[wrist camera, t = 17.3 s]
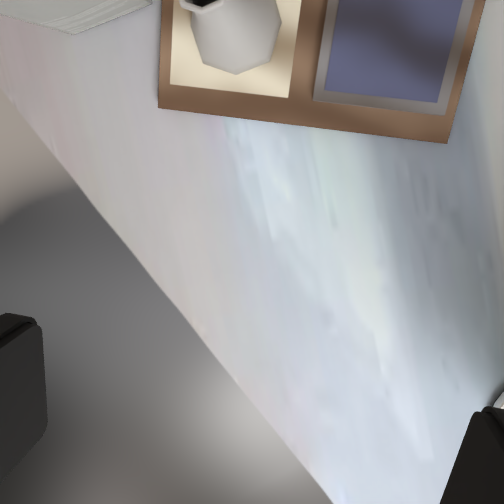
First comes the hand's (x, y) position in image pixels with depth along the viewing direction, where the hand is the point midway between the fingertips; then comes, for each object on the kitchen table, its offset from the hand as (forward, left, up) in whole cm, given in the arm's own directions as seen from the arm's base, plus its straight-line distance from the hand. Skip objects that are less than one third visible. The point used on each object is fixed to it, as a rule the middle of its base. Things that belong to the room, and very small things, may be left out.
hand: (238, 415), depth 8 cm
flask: (+13, +7, -27) cm, 31 cm away
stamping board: (+13, +1, -28) cm, 31 cm away
